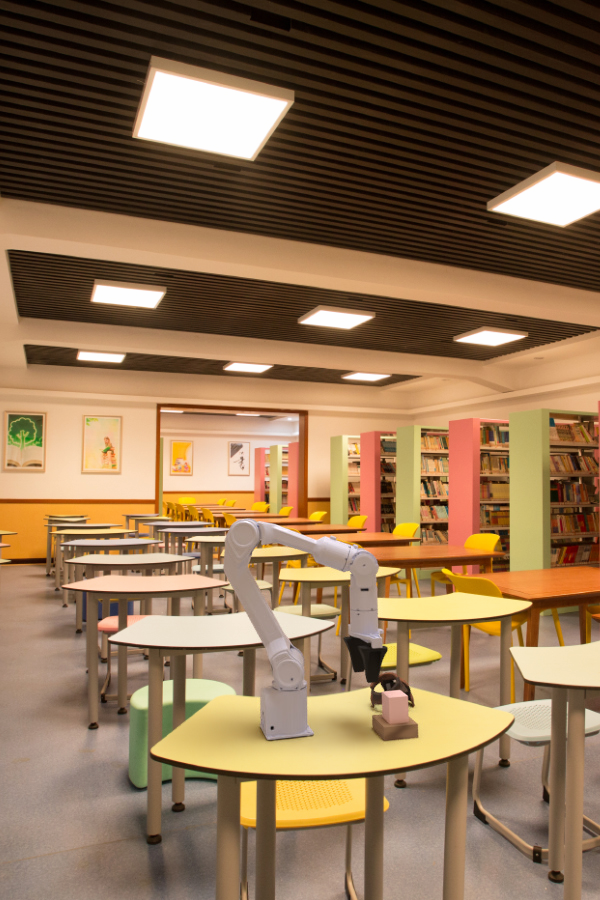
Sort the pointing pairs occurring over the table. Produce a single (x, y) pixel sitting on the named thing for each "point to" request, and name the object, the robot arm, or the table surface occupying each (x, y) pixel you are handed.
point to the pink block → (395, 707)
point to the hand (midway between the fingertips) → (365, 676)
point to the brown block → (394, 729)
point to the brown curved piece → (389, 687)
